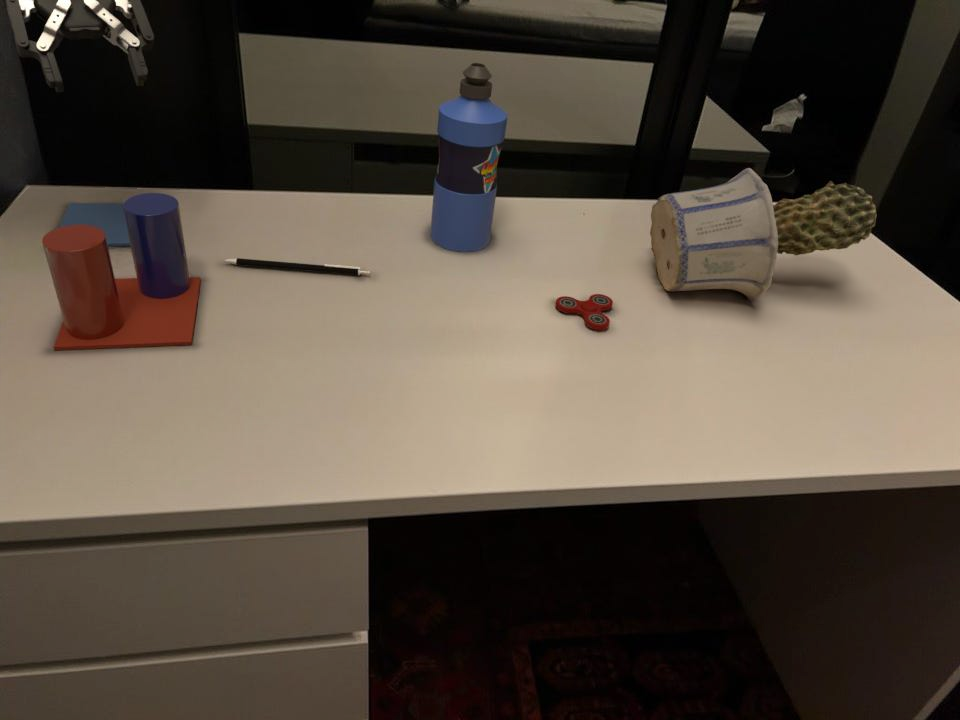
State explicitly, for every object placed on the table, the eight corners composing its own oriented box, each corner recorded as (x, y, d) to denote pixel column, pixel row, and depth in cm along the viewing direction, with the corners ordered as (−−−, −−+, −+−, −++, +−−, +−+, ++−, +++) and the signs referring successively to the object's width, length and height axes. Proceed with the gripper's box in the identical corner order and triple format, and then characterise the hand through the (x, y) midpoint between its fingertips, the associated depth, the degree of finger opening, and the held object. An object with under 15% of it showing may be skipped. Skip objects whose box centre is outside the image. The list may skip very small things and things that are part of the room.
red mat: (54, 350, 80) (53, 346, 79) (79, 282, 90) (79, 279, 90) (192, 345, 83) (191, 341, 83) (201, 280, 94) (200, 276, 93)
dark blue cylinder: (135, 299, 88) (118, 215, 81) (142, 274, 92) (126, 192, 86) (188, 298, 89) (175, 215, 83) (192, 273, 94) (180, 192, 87)
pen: (369, 277, 98) (369, 269, 98) (223, 265, 97) (222, 257, 96) (370, 273, 99) (370, 266, 99) (225, 261, 98) (224, 254, 97)
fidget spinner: (605, 299, 101) (607, 291, 100) (628, 329, 95) (631, 321, 95) (551, 303, 99) (553, 294, 98) (572, 334, 93) (574, 326, 92)
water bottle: (417, 238, 109) (428, 63, 94) (449, 217, 116) (465, 50, 101) (471, 258, 106) (492, 81, 91) (501, 235, 113) (525, 66, 98)
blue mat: (51, 247, 96) (50, 243, 96) (70, 206, 105) (69, 203, 105) (150, 246, 99) (149, 243, 99) (160, 206, 108) (160, 203, 108)
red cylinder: (60, 340, 80) (35, 251, 74) (72, 310, 85) (49, 224, 78) (119, 338, 82) (100, 251, 75) (127, 309, 86) (109, 224, 80)
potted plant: (683, 219, 90) (924, 176, 90) (640, 167, 104) (847, 130, 105) (680, 337, 100) (896, 298, 100) (641, 275, 115) (830, 240, 115)
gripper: (122, -29, 91) (163, 96, 91) (-11, -29, 84) (32, 106, 84) (126, -69, 84) (169, 65, 84) (-19, -73, 77) (29, 74, 77)
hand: (101, 86), depth 84 cm, fingers open, 8 cm apart
